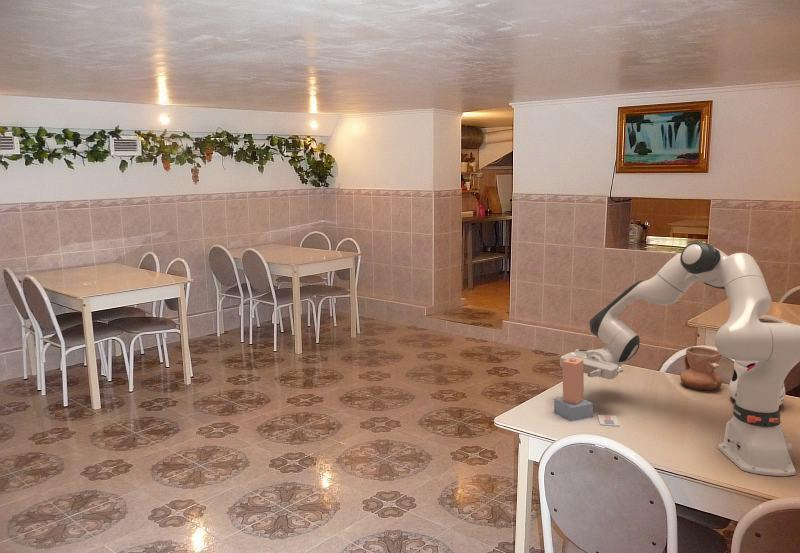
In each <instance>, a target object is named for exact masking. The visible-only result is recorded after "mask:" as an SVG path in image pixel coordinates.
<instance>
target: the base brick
mask: <svg viewBox="0 0 800 553" xmlns="http://www.w3.org/2000/svg"><path fill="white" fill-rule="evenodd" d="M553 402H554V404H553V406H554V407H553V412H554V413H555V414H557V415H559V416H561V417H562V418H564V419H567V420H568V421H570V422H574V421H579V420H584V419H588V418H592V417H593V416H594V415H593V414H594V403H593V402H592V401H589V400H587V399H586V398H584V400H582V401H581V402H579V403H578V404H573V403H569V402H565V401H563V396H561V397H556V398H554V399H553Z"/></svg>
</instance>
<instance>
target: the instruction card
mask: <svg viewBox="0 0 800 553" xmlns="http://www.w3.org/2000/svg"><path fill="white" fill-rule="evenodd" d="M597 418H598V422H599V425H600V426H608V427H609V426H610V427H620V426H621V425H620V423H619V422H620V421H619V419H618V416H617V415H607V414H606V415H605V414H597Z"/></svg>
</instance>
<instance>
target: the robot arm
mask: <svg viewBox="0 0 800 553" xmlns="http://www.w3.org/2000/svg"><path fill="white" fill-rule="evenodd" d="M696 282H703V283H704V284H705V285H707V286H709V287H712V288H715V289H719V290H725V293H726V297H727V301H728V306H729V310H730V311H729V317H728V319H727V321H726V322H725V323H723V325H721V326H720V327H719V328H718V330H717V331H716V332H715V337H714V344H715V348H716V350H717V351H718V352H719V353H720V354H721V357H722V358H726V359H731V360H734V361H735V360H740V361H758V362H757V364H756V365H755V366H754V367H753V368H752V369H750V370H748V371H746V372H744V373H743V374H742V375H741V376H740V377H739V379H738V384H737V394H736V401H735V400H734V402H733V407H732V414H733V416H732V417H731V419H729V420H728V421H727V422H726V424H725V425H726V427H725V431H724V437H723V438H724V439H723V442H721V443H719V444H718V446H717V449H718V450H719V451H720V452H722V453H723V455H725V456H726V457H727V458H728V459H729V460H731V461H732V463H734V464H735V466H737V467H738V468H739V469H741V470H742V471H744V472H748V473H752V474H756V475H757V474H758V475H764V476H778V477H779V476H780V477H789V476H793V475H796V469H795V466H794V464H793V462H792V459H791V456H790V453H789V452H791V451H792V448H793V447H792V443H791V442H786V439H787V433H784V431H783V428H782V425H781V417H782V416H781V408H780V406H779V401H780V395H781V389H782V385H783V382H784V381H785V379H786V378H787V376H788V374H789V373H790V372H791V370H792V369H793V368H794V367H795V366H796V365H797V364H799V362H800V325H799V324H794V323H788V322H764V321H763V322H762V321H761V320H760V319H759V318H760V317H762V316H764V315H765V314H766V313H768V312H769V310H770V309H771V307H772V304H773V303H772V301H773V300H772V297H771V294H770V292H769V289H768V286H767V282H766V280H765V278H764V274H763V273H762V270H761V268H760V266H759V264H758V263H757V262H756V260H755V258H754V257H753V256H752V255H750V254H748V253H746V252H736V253H732V254H730V255H728V254H726V253H725V252H724V251H722V250H720V249H718V248H717V247H714V246H713V245H711V244H709V243H708V242H705V241H693V242H690V243H689V244H687V245H686V246H684V248H683V249H682V251H681V252H679V253H677V254H675V255H674V256H673V257H672V258H670V260H668V261H667V262H666V263H664V265H663V266H662V267H661V268H660V269H659V270H658V272H656V274H655V275H654V276H652V277H651V278H649V279H646V280H643V279H641V280H638V281H636V282H634V283H633V284H632V285H630V286H629V287H628V288H626V289H625V290H624V291H623V292H622V293H620V294H619V295H618V296H617V297H616V298H615V299H614V300H613V301H611V302H610V303H609V304H607V305H606V306H605V307H604V308H603V309H600V311H599V312H598V313H597V312H596V314H594V315H593V316H592V317H591V319H590V321H589V330H590V334H592V335H594V336H595V337H596V338H598V339H600V340H601V341H602V342H603V343H604V344H605V345H604V346H602V347H601V348H596V349H580V348H577V349H575V350H574V351H572V352H571V351H570V352H568V353H566V354H563V355H561V356H560V359H559V366H560V367H561V368H563V361H564V360H566V359H568V358H575V359H581V360H583V363H584V374H587V377H589V378H593V377H594V378H595V377H598V378H602V379H606V380H614V379H615V378H616V377H618V376H619V374H620V373H623V371H624V368H622V367H621V366H623V365H624V364H625V363H626V362H627V361H629V360H631V359H632V358H633V356H636V353H637V352H638V350H639V349H640V344H641V343H640V341H641V340H640V337H639V335H638V334H637V333H636V332H635V331H633V330H632V328H630V327H629V326H628V325H627V324H626V323H624V322H623V321H621V320H620V319H619V318H618V314H619V313H621V312H622V311H623V310H624V309H626V308H627V307H628V306H629V305H630V304H631V303H632V302H634V301H636V300H637V301H638V300H641V301H645V302H648V303H651V304H653V305H658V306H671V305H673V304H675V303H676V302H678V301H679V300H680V299H681V298H682V297H683V296H684V294H686V292H687V291H688V290H689V289H690V288H691V287H692V285H693V284H695V283H696ZM784 383H785V382H784Z"/></svg>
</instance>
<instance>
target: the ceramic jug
mask: <svg viewBox="0 0 800 553" xmlns="http://www.w3.org/2000/svg"><path fill="white" fill-rule="evenodd" d="M721 357H722V355H721V354H720V353H719V352H718V350H717V349H713V348H708V347H704V346H689V347H688V346H687V347H686V348H685V356H684V358H683V364H684V369H685V370H684V371H682V372H681V374H680V381H681V383H683V384H684V385H685V386H687V387H689V388H692V389H695V390H700V391H711V390H716V389H718V388H719V387H721V386H722V384H723V378H722V376H721V375H720V374H718V373H716V371H715V369H717V368H720V364H719V362H720V360H721Z"/></svg>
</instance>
